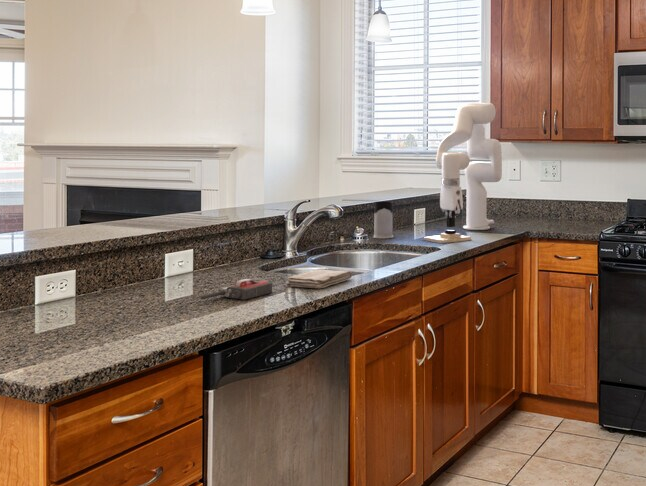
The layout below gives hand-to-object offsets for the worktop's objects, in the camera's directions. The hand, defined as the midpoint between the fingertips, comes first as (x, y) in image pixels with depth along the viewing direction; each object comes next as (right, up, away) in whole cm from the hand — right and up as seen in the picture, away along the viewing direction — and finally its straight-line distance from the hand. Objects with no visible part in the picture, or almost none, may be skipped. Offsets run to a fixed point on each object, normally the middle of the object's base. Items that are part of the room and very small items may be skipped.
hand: (450, 226), depth 310 cm
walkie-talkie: (-57, -7, -112) cm, 126 cm away
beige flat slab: (-1, -6, +1) cm, 6 cm away
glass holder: (-29, -6, +13) cm, 33 cm away
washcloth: (-39, -7, -92) cm, 100 cm away
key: (0, -3, 0) cm, 3 cm away
